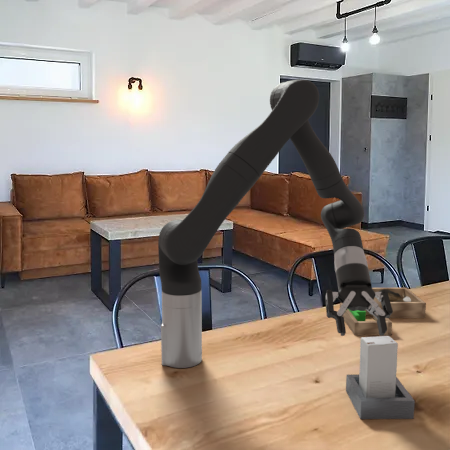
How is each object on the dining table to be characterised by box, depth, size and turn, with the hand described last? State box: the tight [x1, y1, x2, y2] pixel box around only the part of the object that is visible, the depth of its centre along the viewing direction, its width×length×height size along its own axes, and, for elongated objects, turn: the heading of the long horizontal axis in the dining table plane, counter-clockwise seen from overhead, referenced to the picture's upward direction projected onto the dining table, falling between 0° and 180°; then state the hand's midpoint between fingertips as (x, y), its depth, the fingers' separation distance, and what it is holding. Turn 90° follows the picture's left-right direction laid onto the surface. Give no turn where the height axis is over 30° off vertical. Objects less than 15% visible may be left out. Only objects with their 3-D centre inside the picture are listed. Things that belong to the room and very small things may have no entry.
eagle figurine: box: [379, 289, 411, 302], centre depth 157 cm, size 8×7×9 cm
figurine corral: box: [372, 287, 427, 319], centre depth 158 cm, size 13×16×4 cm
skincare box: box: [359, 335, 399, 398], centre depth 100 cm, size 6×4×12 cm
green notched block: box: [348, 309, 367, 321], centre depth 146 cm, size 11×4×5 cm, turn 1°
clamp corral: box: [339, 302, 393, 336], centre depth 146 cm, size 10×17×4 cm, turn 1°
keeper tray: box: [345, 373, 416, 420], centre depth 101 cm, size 10×11×4 cm
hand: (363, 334), depth 111 cm, fingers open, 8 cm apart
